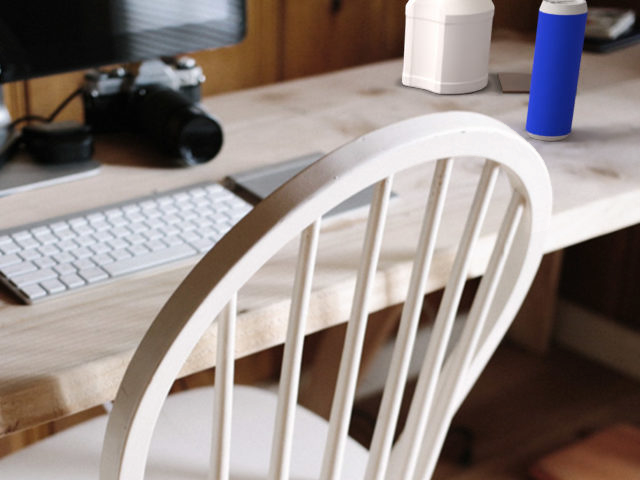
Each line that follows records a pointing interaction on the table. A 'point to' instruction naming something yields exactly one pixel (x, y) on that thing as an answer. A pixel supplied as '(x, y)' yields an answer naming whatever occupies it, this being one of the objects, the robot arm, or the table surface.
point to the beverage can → (556, 68)
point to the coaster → (515, 82)
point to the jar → (447, 45)
